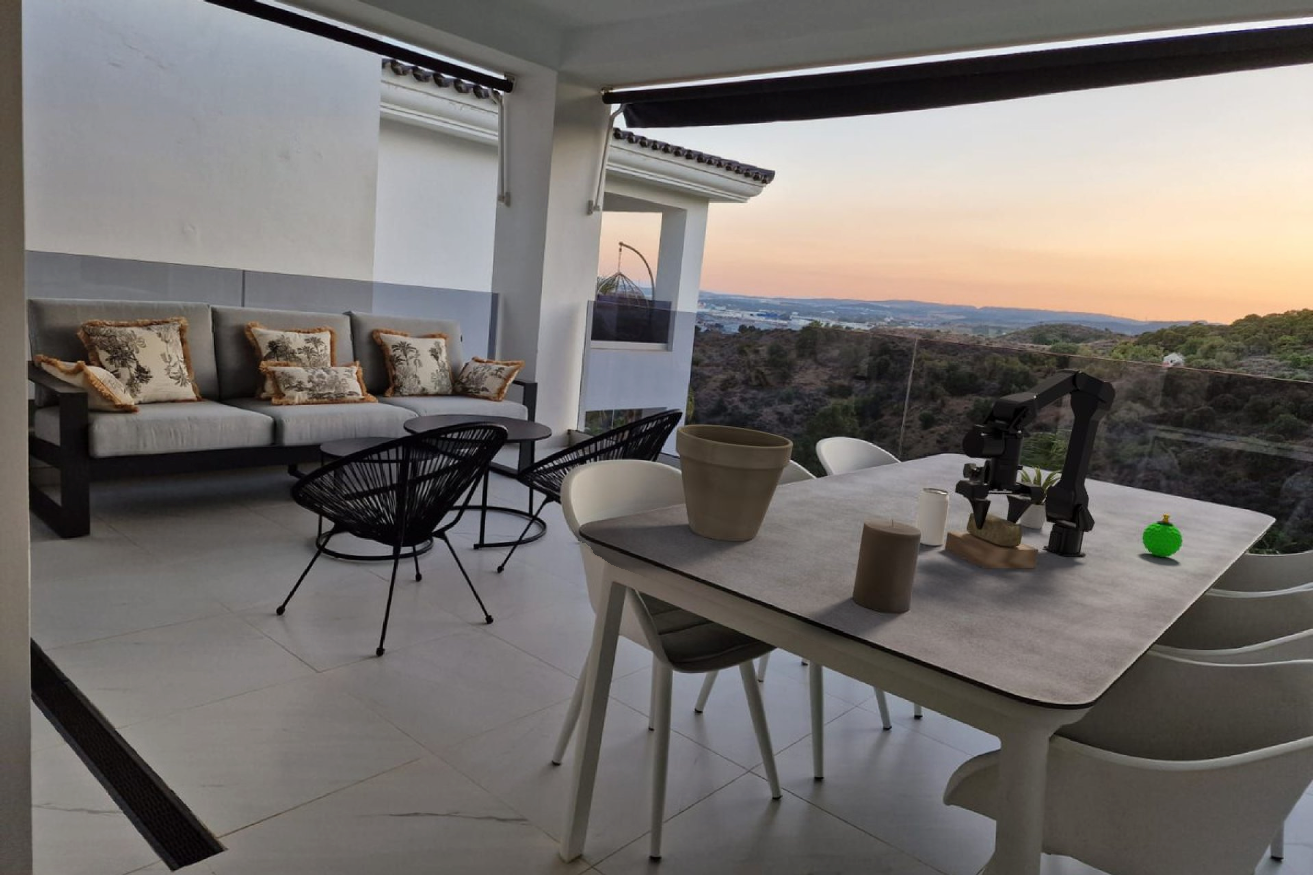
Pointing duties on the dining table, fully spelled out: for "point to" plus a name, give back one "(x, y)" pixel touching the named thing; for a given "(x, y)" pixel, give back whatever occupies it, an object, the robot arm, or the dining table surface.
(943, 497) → the can
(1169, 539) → the ornament
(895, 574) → the pillar candle
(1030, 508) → the house plant
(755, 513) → the plant pot
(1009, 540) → the stone block
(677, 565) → the dining table surface
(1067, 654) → the dining table surface
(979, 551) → the plinth
